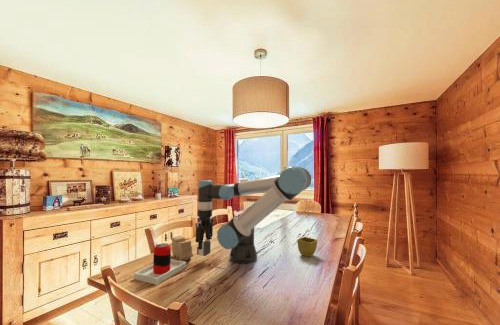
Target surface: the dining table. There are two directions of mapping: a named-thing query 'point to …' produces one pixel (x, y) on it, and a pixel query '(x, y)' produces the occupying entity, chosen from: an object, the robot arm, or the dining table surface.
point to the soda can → (162, 258)
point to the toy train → (181, 248)
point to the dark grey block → (206, 248)
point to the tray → (153, 278)
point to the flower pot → (307, 246)
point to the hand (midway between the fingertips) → (204, 253)
